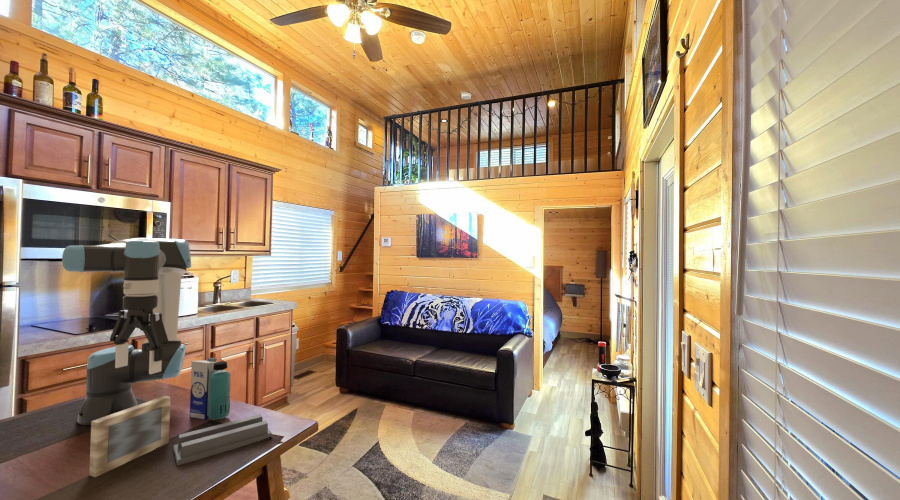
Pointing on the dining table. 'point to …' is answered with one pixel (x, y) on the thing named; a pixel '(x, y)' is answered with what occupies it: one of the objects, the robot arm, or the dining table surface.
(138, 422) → the picture frame
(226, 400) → the beverage bottle
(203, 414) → the milk carton
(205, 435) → the display stand
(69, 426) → the dining table surface
